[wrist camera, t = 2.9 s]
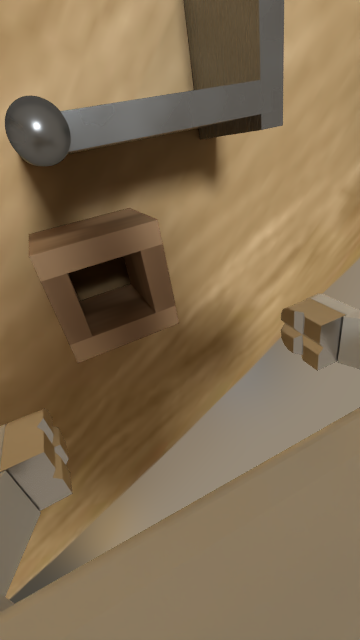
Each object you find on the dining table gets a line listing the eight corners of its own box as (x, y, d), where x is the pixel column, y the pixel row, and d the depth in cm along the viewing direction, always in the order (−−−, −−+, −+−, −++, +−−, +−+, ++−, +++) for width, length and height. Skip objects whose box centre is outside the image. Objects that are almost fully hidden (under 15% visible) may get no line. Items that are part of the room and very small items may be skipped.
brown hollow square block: (68, 322, 20) (77, 363, 16) (28, 234, 17) (28, 256, 13) (150, 293, 21) (178, 323, 17) (129, 207, 18) (157, 219, 14)
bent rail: (27, 175, 15) (25, 182, 9) (-68, -61, 11) (-186, -337, 5) (216, 135, 19) (309, 121, 12) (198, -61, 14) (326, -231, 8)
